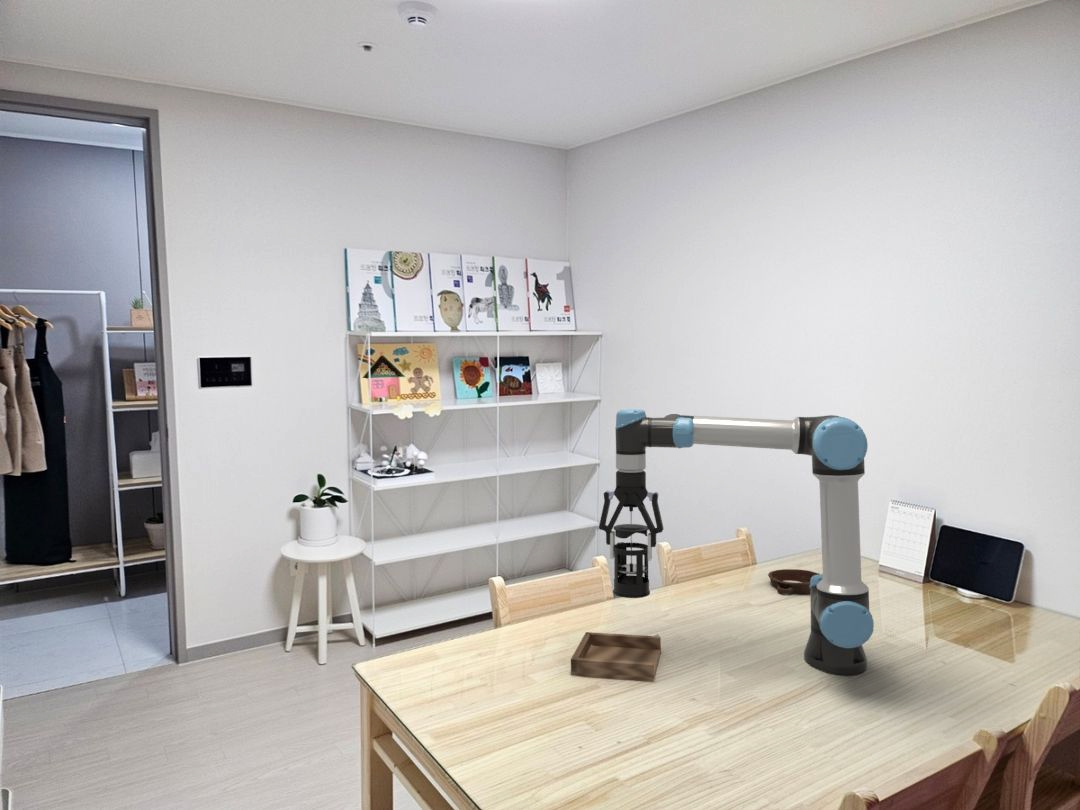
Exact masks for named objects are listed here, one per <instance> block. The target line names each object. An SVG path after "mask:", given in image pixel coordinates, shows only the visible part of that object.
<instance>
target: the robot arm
mask: <svg viewBox="0 0 1080 810" xmlns="http://www.w3.org/2000/svg"><path fill="white" fill-rule="evenodd" d="M615 415H616V417H615V468H616V472H615V489H614V490H611V491H610V490H606V491H605V492H603V498H604V502H603V507H602V511H601V515H600V516H601V517H600V520H599V525H598V529H599V530H600V531H601V530H602V531H604V532H605V543H606V545H609V547H610V548H609V550H610V551H609V553H610V555H609V558H610V559H612V560H614V545H616V536H615V530H613V529H614V526H615V524H616V522H617V520H618V518H619V517H620V515H621V511H622V510H623V509H624V508H628V507H627V506H623V505H628V504H630V505H637V506H636V507H635V508H637V509H638V511H639V513H640V515H641V516H642V517H641V518H643V520H644V522H645V526H647V527H648V529H649V530H648V531H649V532H648V533H647V545H648V562H649V561H650V562H651V561H652V559H653V548H655V547H656V545H657V534H661V533H662V532H663V531H664V525H663V519H662V515H661V511H660V507H659V502H658V500H659V492H649V491H648V490H647V485H646V484H647V483H646V481H647V475H646V474H647V472H646V471H645V470H646V467H647V465H646V464H647V463H646V459H647V457H646V448H673V449H674V448H675V449H682V448H692V447H693V446H694V445H708V446H721V447H722V446H723V447H737V448H739V447H740V448H741V447H742V448H754V449H755V448H758V449H771V450H772V449H774V450H788V451H789V450H790V451H792V452H793V453H794V454H796V455H806V456H811V466H812V467H811V468H812V471H811V472H812V475H813V477H815V478H816V479H818V481H819V507H820V530H821V531H820V534H821V556H822V559H821V560H822V561H821V562H822V574H821V573H818V574H819V575H814V576H812V577H811V580H810V586H809V587H810V597H809V598H810V599H809V600H810V633H809V637H808V640H807V642H806V645H805V647H804V648H805V649H804V652H803V659H804V661H805V663H806V664H807V665H809V666H810V667H812V668H813V669H815V670H817V671H820V672H822V673H825V674H830V675H840V676H850V675H858V674H861V673H864V672H865V671H866V670H867V669H868V659H867V655H866V653H865V649H864V647H863V645H864V644H865V643H867V642H868V641H869V640H870V638H872V635H873V633H874V626H875V625H874V624H875V623H874V618H873V615H872V613H871V611H870V592H869V591H870V589H869V586H868V585H867V584H866V583H864V581H862V563H861V562H862V561H861V560H862V558H861V557H862V556H861V555H862V554H861V534H860V533H861V532H860V531H861V530H860V529H861V528H860V505H859V504H860V503H859V501H860V500H859V481H860V479H861V478H862V477H864V475H865V474H866V473H865V457H866V455H867V452H868V439H867V435H866V433H865V432H864V430H863V429H862V427H861V426H860V425H859V424H858V423H857V422H855V421H853V420H852V419H850V418H848V417H847V418H846V417H845V416H843V417H842V416H838V415H831V414H830V415H829V414H828V415H820V416H796V417H795V418H794V419H792V420H790V419H789V420H788V419H773V418H772V419H770V418H766V419H765V418H750V417H749V418H748V417H728V416H727V417H725V416H705V415H685V414H683V415H681V414H678V413H670V414H668V415H665V416H664V417H650V416H647V414H646V411H645V410H644V409H633V408H632V409H630V408H629V409H628V408H627V409H620V410H618V411H616V414H615ZM614 496H615V498H616V500H617V501H618V504H617V506H616V508H615V510H614V513H613V514H612V517H611V518H610V520H609V523H608V524H606V523H607V519H608V515H609V510H610V505H611V502H612V500H613V497H614ZM646 498H648V499H649V501H650V502H651V507H652V511H653V515H654V520H655V524H656V526H655V524H654V522H653V520H652V518H651V516H650V514H649V512H648V510H647V508H646V506H645V503H644V501H645V499H646Z"/></svg>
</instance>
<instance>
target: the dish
mask: <svg viewBox="0 0 1080 810" xmlns="http://www.w3.org/2000/svg"><path fill="white" fill-rule="evenodd" d="M819 574H820V573H819V572H815V571H811V570H807V569H798V568H796V569H792V568H791V569H790V568H789V569H787V568H786V569H777V570H776V569H775V570H771V571H769V572H768V574H767V576H768V577H769V579H770V582H771V585H772V587H773V588H775V589H777V592H778V593H780V594H781V595H782V594H783V595H790V594H793V595H808V594H810V587H809V586H810V580H811V577H812V576H814V575H819Z"/></svg>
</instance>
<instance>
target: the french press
mask: <svg viewBox="0 0 1080 810" xmlns="http://www.w3.org/2000/svg"><path fill="white" fill-rule="evenodd" d="M624 506H627V507H626V508H629V509H628V510H629V512H630V513H629V514H630V516H629V517H630V523H623V524H616V525H614V526H613V531H615V538H619V539H628V538H629V537H630V542H624V541H622V542H617V543H615V545H614V558H613V560H614V569H613V570H614V571H613V572H614V579H613V590H612V593H613V595H615V596H617V597H621V598H624V599H625V598H626V599H640V598H642V599H643V598H645V597H648V596H650V594H651V590H650V579H649V561H648V544H646V543H643V542H642V543H640V542H633V535H635V534H636V533H637V534H641V535H644V536H645V537H648V531H649V529H648V527H647V525H646V524H640V523H639V524H637V523H636V524H635V523H633V521H632V520H633V512H634V508H637V507H636V506H637V505H630V504H628V505H623V507H624ZM627 548H630V549H627ZM633 548H635V549H636V550H633ZM629 556H630V563H627V560H628V559H627V558H628V557H629ZM633 557H635V558H636V560H635V561H636V563H633ZM643 558H644V559H643ZM643 561H644V562H643Z"/></svg>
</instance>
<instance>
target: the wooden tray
mask: <svg viewBox="0 0 1080 810" xmlns="http://www.w3.org/2000/svg"><path fill="white" fill-rule="evenodd" d="M661 642H662V638H661V636H660V635H659V636H655V635H641V634H640V635H638V634H624V633H621V634H620V633H609V632H608V633H607V632H591V631H588V632H587V631H585V632H584V635H583V637H582V638H581V641H580V642H579V644H578V646H577V647H576V650H575V651H574V653H573V654H572V656H571V658H570V675H571V676H575V677H584V678H585V677H586V678H597V679H599V678H600V679H610V680H611V679H612V680H625V681H626V680H627V681H639V682H652V683H653V682H654V681H655V677H656V673H657V669H658V665H659V660H660V656H661V653H662V651H661V650H662V648H661V647H662V646H661V644H662V643H661Z"/></svg>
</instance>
